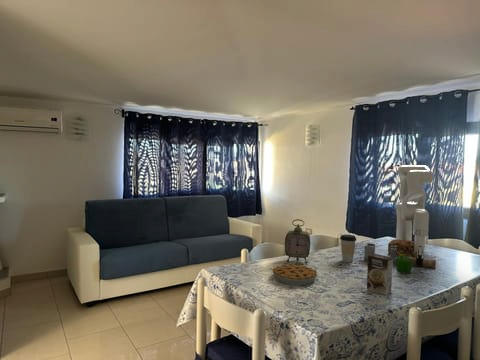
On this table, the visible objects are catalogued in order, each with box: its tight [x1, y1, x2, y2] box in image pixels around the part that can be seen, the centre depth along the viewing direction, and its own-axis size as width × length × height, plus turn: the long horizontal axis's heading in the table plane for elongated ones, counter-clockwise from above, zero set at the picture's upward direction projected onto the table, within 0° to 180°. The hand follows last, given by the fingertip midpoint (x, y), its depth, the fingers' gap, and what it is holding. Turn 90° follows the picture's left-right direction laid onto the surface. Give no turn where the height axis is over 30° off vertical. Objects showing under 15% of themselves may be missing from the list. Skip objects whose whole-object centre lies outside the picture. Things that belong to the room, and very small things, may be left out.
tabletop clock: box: [284, 218, 311, 264], centre depth 196 cm, size 14×9×25 cm, turn 76°
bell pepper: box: [395, 254, 414, 275], centre depth 179 cm, size 8×8×10 cm
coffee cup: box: [339, 234, 357, 263], centre depth 199 cm, size 9×9×15 cm
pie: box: [272, 263, 318, 286], centre depth 167 cm, size 22×22×5 cm
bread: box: [387, 238, 417, 258], centre depth 213 cm, size 19×11×10 cm, turn 41°
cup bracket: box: [363, 242, 376, 262], centre depth 203 cm, size 9×5×9 cm, turn 154°
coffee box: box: [366, 253, 394, 296], centre depth 152 cm, size 9×6×16 cm
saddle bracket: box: [389, 246, 397, 266], centre depth 197 cm, size 9×3×9 cm, turn 154°
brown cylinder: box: [407, 257, 437, 269], centre depth 191 cm, size 16×4×4 cm, turn 64°
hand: (419, 263), depth 191 cm, fingers closed on brown cylinder, 4 cm apart
